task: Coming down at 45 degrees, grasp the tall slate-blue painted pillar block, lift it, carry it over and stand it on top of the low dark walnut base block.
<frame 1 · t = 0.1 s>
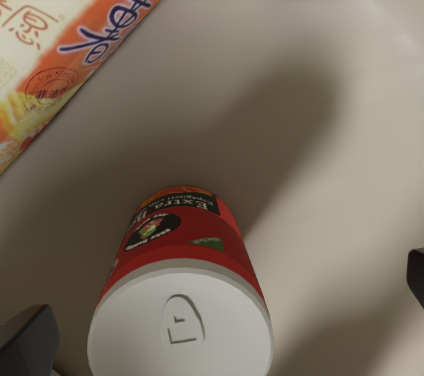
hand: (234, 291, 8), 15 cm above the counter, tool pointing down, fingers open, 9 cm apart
canned food: (184, 233, 24), on the counter
snack package: (23, 73, 20), on the counter
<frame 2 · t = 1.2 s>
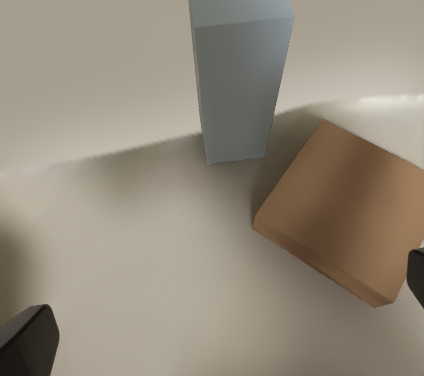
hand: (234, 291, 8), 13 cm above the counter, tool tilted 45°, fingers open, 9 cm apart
slate pillar: (231, 136, 26), on the counter
walnut base block: (338, 215, 24), on the counter
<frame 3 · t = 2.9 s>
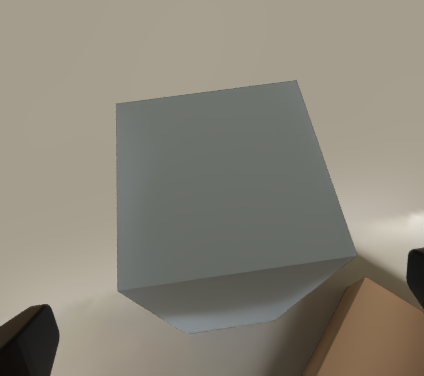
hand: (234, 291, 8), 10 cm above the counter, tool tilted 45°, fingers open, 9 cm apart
slate pillar: (223, 282, 18), on the counter
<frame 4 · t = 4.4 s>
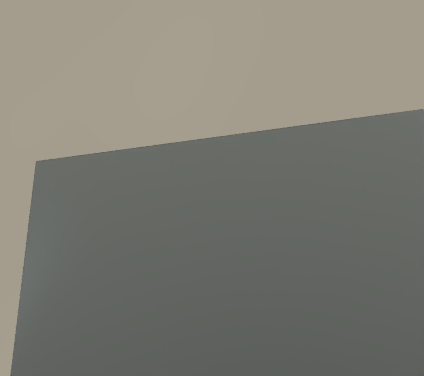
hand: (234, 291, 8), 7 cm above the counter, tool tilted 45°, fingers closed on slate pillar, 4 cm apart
slate pillar: (235, 354, 14), on the counter, touching gripper
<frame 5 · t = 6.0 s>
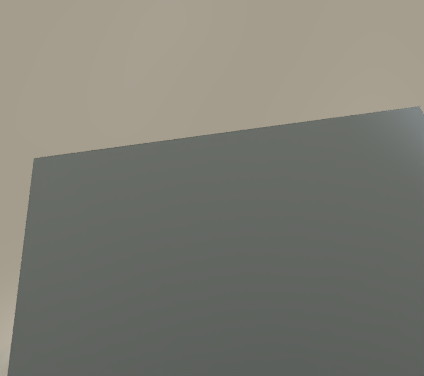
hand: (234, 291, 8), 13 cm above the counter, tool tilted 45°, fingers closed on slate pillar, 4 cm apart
slate pillar: (234, 353, 14), point 7 cm above the counter, touching gripper
when the fingers open (10 cm above the counter, at t = 7.4 s): slate pillar drops 1 cm, resting on walnut base block.
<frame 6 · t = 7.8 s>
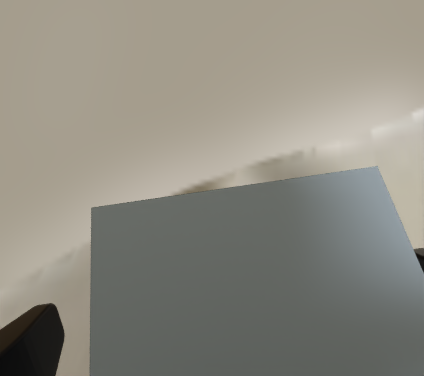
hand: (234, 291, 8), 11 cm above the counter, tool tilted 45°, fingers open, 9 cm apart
slate pillar: (233, 349, 15), point 2 cm above the counter, touching walnut base block
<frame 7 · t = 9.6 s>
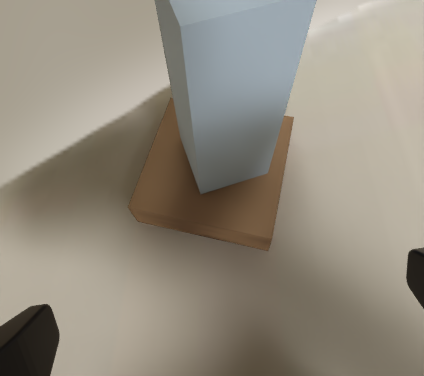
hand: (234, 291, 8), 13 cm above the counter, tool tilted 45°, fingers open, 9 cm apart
slate pillar: (222, 154, 22), point 3 cm above the counter, touching walnut base block
walnut base block: (217, 181, 24), on the counter, touching slate pillar
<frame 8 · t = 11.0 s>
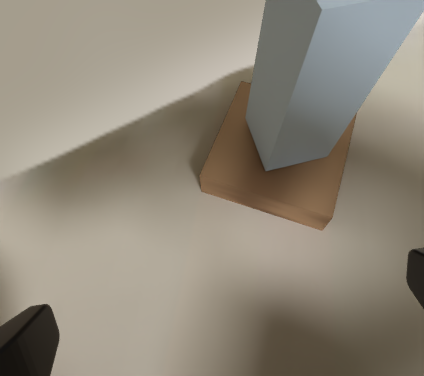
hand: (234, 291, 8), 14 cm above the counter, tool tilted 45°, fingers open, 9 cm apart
slate pillar: (285, 136, 23), point 3 cm above the counter
walnut base block: (275, 163, 26), on the counter
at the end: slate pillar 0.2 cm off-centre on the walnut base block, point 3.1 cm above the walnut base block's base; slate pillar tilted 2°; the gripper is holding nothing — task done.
